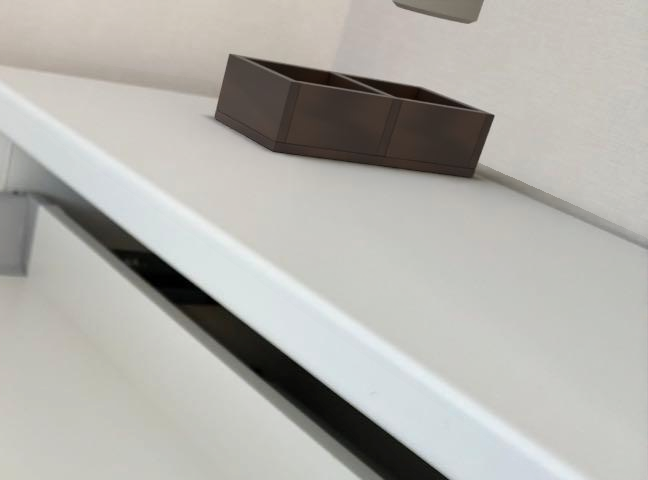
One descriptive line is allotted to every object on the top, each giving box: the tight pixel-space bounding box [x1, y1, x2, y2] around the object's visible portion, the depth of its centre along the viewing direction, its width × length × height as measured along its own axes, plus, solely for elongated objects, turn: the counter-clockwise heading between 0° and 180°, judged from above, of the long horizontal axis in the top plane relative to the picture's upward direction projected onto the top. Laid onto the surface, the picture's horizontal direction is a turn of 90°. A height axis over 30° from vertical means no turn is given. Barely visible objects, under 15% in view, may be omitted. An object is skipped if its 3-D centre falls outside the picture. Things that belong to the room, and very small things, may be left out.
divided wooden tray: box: [213, 53, 496, 179], centre depth 103 cm, size 23×12×6 cm, turn 112°
